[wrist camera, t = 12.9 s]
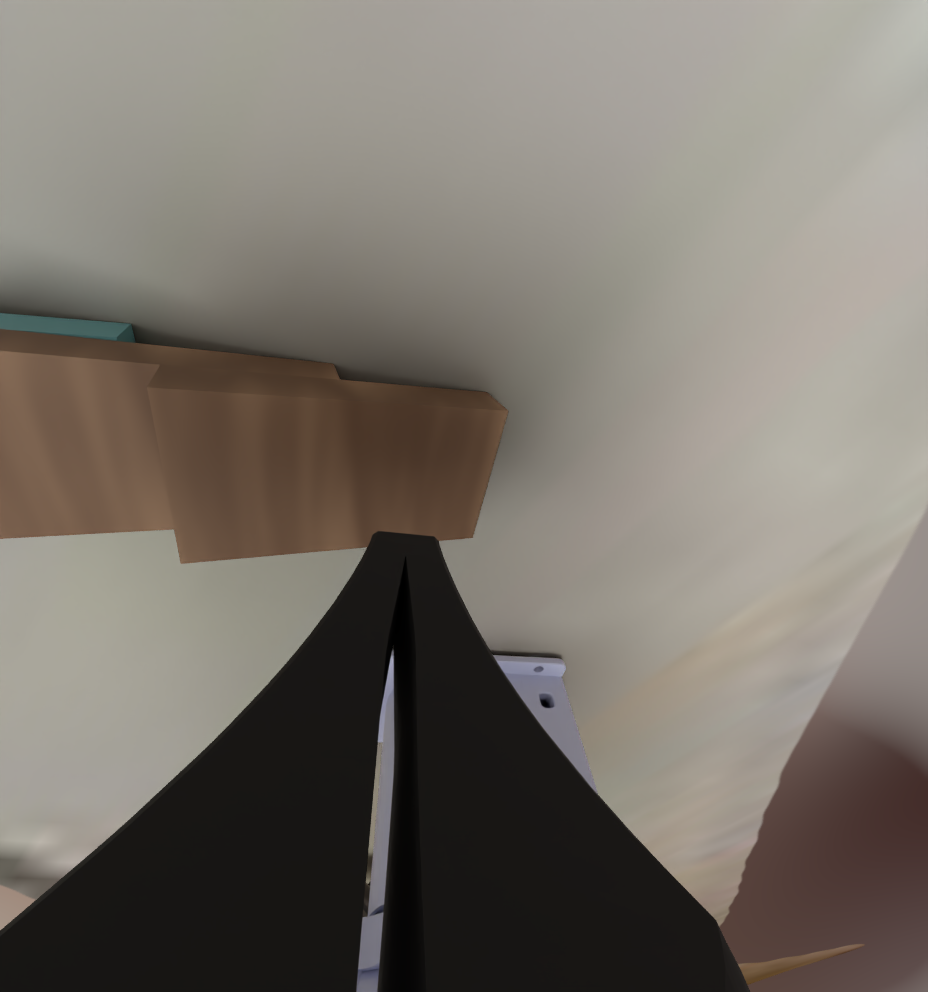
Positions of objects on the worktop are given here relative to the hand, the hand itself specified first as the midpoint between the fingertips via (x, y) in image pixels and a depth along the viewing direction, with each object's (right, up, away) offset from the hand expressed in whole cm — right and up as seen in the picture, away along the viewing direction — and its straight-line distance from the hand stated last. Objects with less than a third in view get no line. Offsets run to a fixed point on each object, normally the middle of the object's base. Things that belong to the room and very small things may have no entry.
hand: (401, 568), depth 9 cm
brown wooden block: (+2, +3, +5) cm, 6 cm away
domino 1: (-3, +3, +4) cm, 6 cm away
